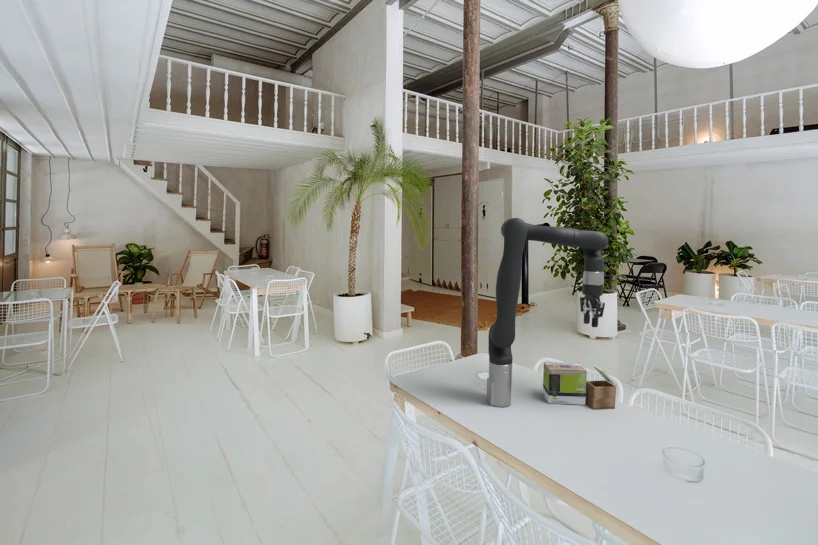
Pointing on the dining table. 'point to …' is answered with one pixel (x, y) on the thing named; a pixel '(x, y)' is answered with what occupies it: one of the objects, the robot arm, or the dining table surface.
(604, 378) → the lid
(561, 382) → the tea box
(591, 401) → the chest
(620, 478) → the dining table surface
